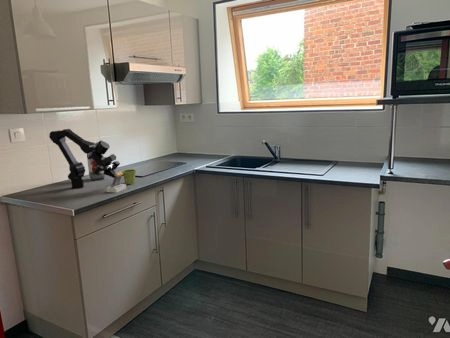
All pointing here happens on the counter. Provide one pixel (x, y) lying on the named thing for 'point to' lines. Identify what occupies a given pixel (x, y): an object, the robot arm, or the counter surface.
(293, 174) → the counter surface
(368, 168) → the counter surface
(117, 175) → the rocker lever
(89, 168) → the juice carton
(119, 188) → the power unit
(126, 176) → the plant pot
